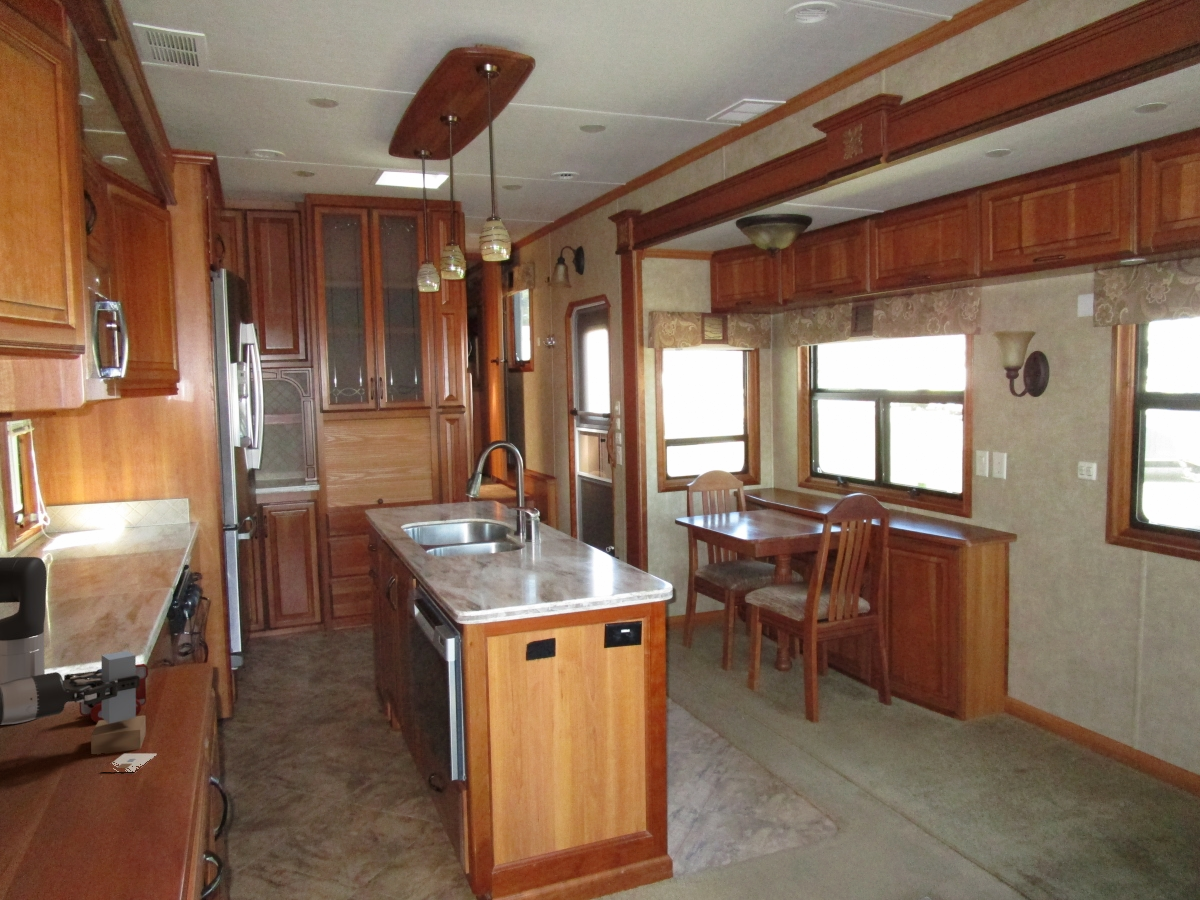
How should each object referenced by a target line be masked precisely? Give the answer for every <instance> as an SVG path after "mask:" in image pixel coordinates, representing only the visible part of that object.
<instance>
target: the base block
mask: <svg viewBox="0 0 1200 900" xmlns="http://www.w3.org/2000/svg"><path fill="white" fill-rule="evenodd" d="M146 717H147V716H146V715H144V714H143V715H137V716H136V718H132V719H127V720H123V721H119V722H114V723H110V724H109V723H108V722H107V721H106V720H100V721H98V723H96V725H95V727H94V728H93V731H92V733H91V735H90V738H91V739H90V740H91V741H90V745H91V746H90V749H91V750H90V751H91V754H97V755H102V754H101V753H105V754H113V753H120V752H128V751H129V752H130V751H136V750H141V748H142V746H143V742H144V740H145V737H146V735H147V734H146V732H147V731H146V730H147V727H146V726H147V725H146V719H147V718H146Z"/></svg>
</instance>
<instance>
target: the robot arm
mask: <svg viewBox="0 0 1200 900" xmlns="http://www.w3.org/2000/svg"><path fill="white" fill-rule="evenodd" d="M47 575H48V574H47V568H46V564H45V562H44V560H42V558H40V557H38V556H16V557H15V556H14V557H13V556H11V557H10V556H9V557H8V556H7V557H3V556H1V557H0V603H1V604H2V603H4V604H5V603H6V604H7V603H19V605H18V610H17V612H16V613H13V614H12V615H10V616H6V617H3V618H0V725H1V726H2V725H14V724H15V725H16V724H21V723H26V722H29V721H33V720H37V719H42V718H47V717H52V716H56V715H57V716H58V715H60V714H61V713H63V712H64V709H65V705H66V704H67V703H69V702H70V703H71V702H74V703H79V702H84V704H85V705H89V704H92V703H95V702H99V701H102V700H105V699H109V698H112V697H115V696H117V693H118V691H122V690H127V689H132V688H137V687H139V685H140V677H139V676H137V675H135V676H130V677H125V678H120V679H112V680H103V679H102V673H101V671H97V670H93V671H85V672H78V673H68V674H65V675H63V677H62V675H61V674H60V673H59V672H57V671H55V672H49V673H45V669H46V668H45V619H46V600H47V599H46V598H47V597H46V596H47V582H48V581H47V579H48V578H47V577H48V576H47ZM107 688H110V690H107V691H105V690H106V689H107Z"/></svg>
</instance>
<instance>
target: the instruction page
mask: <svg viewBox="0 0 1200 900" xmlns="http://www.w3.org/2000/svg"><path fill="white" fill-rule="evenodd" d="M154 756H155V757H156V756H157V753H123V754H121V755H120V756H119V757H117V758H116V759H115V760H114V761H112V762H111V763H112V764H113V765H114V764H115V765H114V766H116V765H118V764H119V766H116V767H117V768H125V769H126V770H127V771H128V772H132V771H133V772H135V770H136V768H137V769H139V768H138V767H136V766H139V767H140V766H142V765H144V764H145V763H146V762H147V761H149V760H150V759H151V760H152V759H153V758H155V757H154ZM151 760H150V761H151ZM150 761H149V762H150ZM113 762H115V763H113ZM116 763H117V764H116ZM147 763H148V762H147ZM147 763H146V764H147ZM140 764H141V765H140ZM146 764H145V765H146ZM145 765H144V766H145ZM132 766H133V767H132ZM142 767H143V766H142ZM127 768H129V769H130V770H131V771H130V770H129V769H127ZM113 769H114V768H113ZM114 770H116V769H114ZM126 770H125V771H126ZM139 770H140V769H139ZM116 771H117V770H116ZM127 771H126V772H127ZM117 772H119V771H117ZM135 773H136V772H135Z"/></svg>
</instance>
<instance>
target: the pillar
mask: <svg viewBox="0 0 1200 900" xmlns="http://www.w3.org/2000/svg"><path fill="white" fill-rule="evenodd" d="M136 657H137V656H136V654H134V653H132V652H131V651H129V650H124V651H118V652H111V653H105V654H101V669H102V679H103V680H112V679H120V678H125V677H130V676H135V675H136V665H137V663H136V660H137V659H136ZM107 690H110V688H107V689H106V690H105V691H107ZM102 718H103V719H104V720H106V721H107V722H108V723H109V724H110V723H114V722H119V721H123V720H127V719H132V718H136V688H132V689H127V690H122V691H118V693H117V696H115V697H112V698H109V699H105V700H102Z"/></svg>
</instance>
